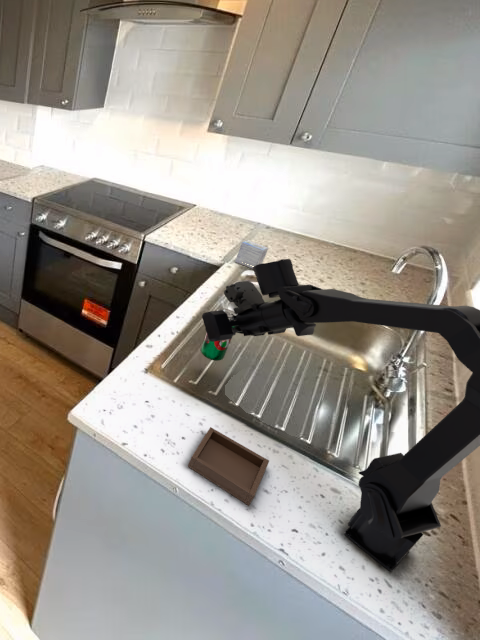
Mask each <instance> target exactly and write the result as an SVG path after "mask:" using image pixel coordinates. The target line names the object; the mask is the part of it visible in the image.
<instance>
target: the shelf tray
mask: <svg viewBox="0 0 480 640" xmlns="http://www.w3.org/2000/svg"><path fill="white" fill-rule="evenodd" d="M269 463H270V460H269V459H267V458H265V457H264V456H262V455H260V454H259V453H256V451H253V450H251V449H250V448H248V447H247V446H244V445H243V444H241V443H239V442H237V440H236V441H235V440H234V439H232V438H230V437H229V436H227V435H226V434H223V433H222V432H221V431H218V430H216V429H215V428H213V427H211V426H210V427H209V428H208V430H207V432H206V433H205V435H204V436H203V438H202V439H201V441H200V443H199V444H198V446H197V447H196V450H194V452H193V454H192V456H191V458H190V460H189V462H188V464H187V467H188V468H189V469H191V470H193V471H194V472H196V473H198V474H199V475H201V476H202V477H204V478H205V479H207V480H209V481H210V482H211V483H213V484H214V485H216V486H218V487H219V488H221V489H222V490H224V491H226V492H227V493H228V494H230V495H232V496H233V497H234V498H236V499H238V500H239V501H241V502H242V503H244V504H246V505H247V506H250V505H251V503H252V501H253V500H254V498H255V496H256V494H257V491H258V489H259V487H260V484H261V482H262V479H263V477H264V475H265V472H266V469H267V467H268V465H269Z"/></svg>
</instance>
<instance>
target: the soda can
mask: <svg viewBox="0 0 480 640" xmlns="http://www.w3.org/2000/svg"><path fill="white" fill-rule="evenodd" d="M219 310H223V311H224V312H226V313H227V315H228V318H229V320H230V321H236V320H232V317H231V316H233V315H237V314H235V312H234V310H232V309H229V308H224V307H219V308H217V309H216V311H219ZM232 327H237V326H232ZM233 337H234V336H232V338H233ZM231 342H232V339H228V340H222V341H214V342H212V341H210V340H209V338H208V335H207V332H206V334H205V337H204V340H203V342H202V344H201V347H200V353H201V354H202V355H203V357H205V358H207V359H208V360H210V361H214V362H218V361H219V362H220V361H222V360H224V358H225V357H226V354H227V351H228V349H229V347H230V344H231Z"/></svg>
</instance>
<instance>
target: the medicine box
mask: <svg viewBox="0 0 480 640" xmlns="http://www.w3.org/2000/svg"><path fill="white" fill-rule="evenodd" d="M268 251H269V247H268V246H265V245H262V244H260V243H257V242H254V241H251V240H249V239H247V240H244V241H242V242H241V244H240V247H239V249H238V252H237V254H236V257H235V259H234V263H237V264H239V265H242V266H245V267H247V268H249V269H252V270H253V267H252V266H256V265H258V264H262V263H264V260H265V258H266V255H267V253H268ZM242 262H243V263H242ZM245 263H246V264H245ZM247 264H249V265H247ZM250 265H252V266H250Z"/></svg>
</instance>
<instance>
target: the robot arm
mask: <svg viewBox="0 0 480 640" xmlns="http://www.w3.org/2000/svg"><path fill="white" fill-rule="evenodd" d="M252 270H253V272H254V275H255V278H256V281H257V284H258V287H259V289H258V288H257V287H256V285H255V284H254V283H253V282H251V281H249V280H245V281H236V282H235V283H231V284H230V285H226V286H225V289H224V291H223V294H224V296H225V297H226V299H227V301H228V302H229V303H234V305H235V306H236V307H233V311H234V312H235V314H237V315H233V316H231V317H232V320H236V321H230V320H229V318H228V315H227V313H226V312H224V311H223V310H219V311H217V310H211V311H206V312H203V313H202V315H201V318H202V321H203V324H204V330H205V332H206V333H207V335H208V338H209V340H210V341H212V342H214V341H222V340H228V339H231V340H232V339H233V337H234V336H236V335H237V334H241V335H243V336H244V337H248V336H252V337H260V336H261V337H262V336H265V335H266V334H267V335H268V336H270V335H278V334H285V333H286V331H287V330H288V329H293V331H294V335H295V336H297V337H305V336H312V335H314V332H315V328H316V326H317V324H318V323H319V324H320V323H321V324H323V323H325V324H327V323H328V324H329V323H346V322H349V323H350V322H352V323H353V322H354V323H360V324H367V325H376V326H382V327H383V326H384V327H390V328H398V329H404V330H405V329H406V330H413V331H419V332H427V333H434V334H438V335H440V336H441V337H442V338H443V339H444V340H446V342H447V344H448V345H449V348H451V350H452V351H453V353H454V355H455V356H456V358H457V360H458V361H459V362H460V363H461V364H462V365H463V366H465V367H466V369H468V370H469V371H470V372H471V374H470V376H469V378H468V379H467V380H466V384H465V385H466V386H465V392H464V397H463V399H461V401H460V402H459V403H458V404H457V405H456V406H455V407H454V408H453V409H452V410H451V411H449V412H448V413H447V414H446V415H445V416H444V417H443V418H442V419H441V420H440V421H439V422H438V423H437V424H435V426H433V428H431V429H430V430H429V431H428V432H427V433H426V434H424V436H423V437H421V438H420V439H419V441H417V443H415V445H413V446H412V447H411V448H410V449H409V450H408V451H407V452H406V453H404V454H403V453H402V452H398V453H394V454H388V455H384V456H379V457H375V458H373V459H372V460H371V461H370V462H369V464H368V466H367V467H366V469H364V470H361V471H358V475H361V477H360V479H359V480H358V484H357V485H358V487H359V490H360V493H361V495H360V505H359V508H358V509H357V510H356V511H355V513H353V515H352V517H351V518H350V519H349V521H348V522H347V526H348V528H347V529H346V530H345V531H344V532H343V533H344V536H345V537H346V538H348V539H349V540H350V541H351V542H353V543H354V544H355V545H356V546H357V547H359V548H360V549H361V550H363V551H364V553H366V554H367V555H369V556H370V557H371V558H372V559H374V560H375V561H376V562H377V563H379V564H380V565H381V566H382V567H383V568H385V569H386V570H387V571H389V572H393V571H394V570H395V569H396V568H397V567H398V565H400V564H401V562H403V560H404V559H405V558H406V557H407V556H408V555H409V553H410V551H411V549H412V548H414V546H415V545H416V544H417V543H418V542H419V540H420V539H421V538H422V537H423V536H424V533H425V532H427V531H432V530H434V529H439V528H441V527H442V524H441V522H440V519H439V517H438V515H437V512H436V509H435V507H434V505H433V501H434V499H435V498H436V496H437V495H438V493H439V492H440V485H441V480H442V478H443V477H444V476H446V474H448V473H449V472H450V471H452V470H453V469H454V468H455V467H456V466H457V465H459V464H460V463H461V462H462V461H463V460H465V459H466V458H467V457H468V456H469V455H471V454H472V453H473V452H474V451H476V450H477V449H478V448H479V447H480V309H478V308H476V307H474V306H470V305H457V306H454V305H442V304H431V303H420V302H408V301H396V300H386V299H376V298H375V299H374V298H366V297H362V296H359V295H357V294H354V293H351V292H349V291H343V290H339V289H335V288H326V289H324V288H321V287H318V286H316V285H312V284H299V281H298V279H297V275H296V273H295V270H294V265H293V263H292V260H291V258H282V259H279V260H274V261H269V262H263V263H262V264H258V265H256V266H254V267H253V269H252ZM259 290H260V291H259ZM263 296H268V298H269V299H274V298H279V299H276V300H272V301H265V300H264V298H263ZM232 326H237V327H232ZM232 336H233V337H232Z"/></svg>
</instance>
